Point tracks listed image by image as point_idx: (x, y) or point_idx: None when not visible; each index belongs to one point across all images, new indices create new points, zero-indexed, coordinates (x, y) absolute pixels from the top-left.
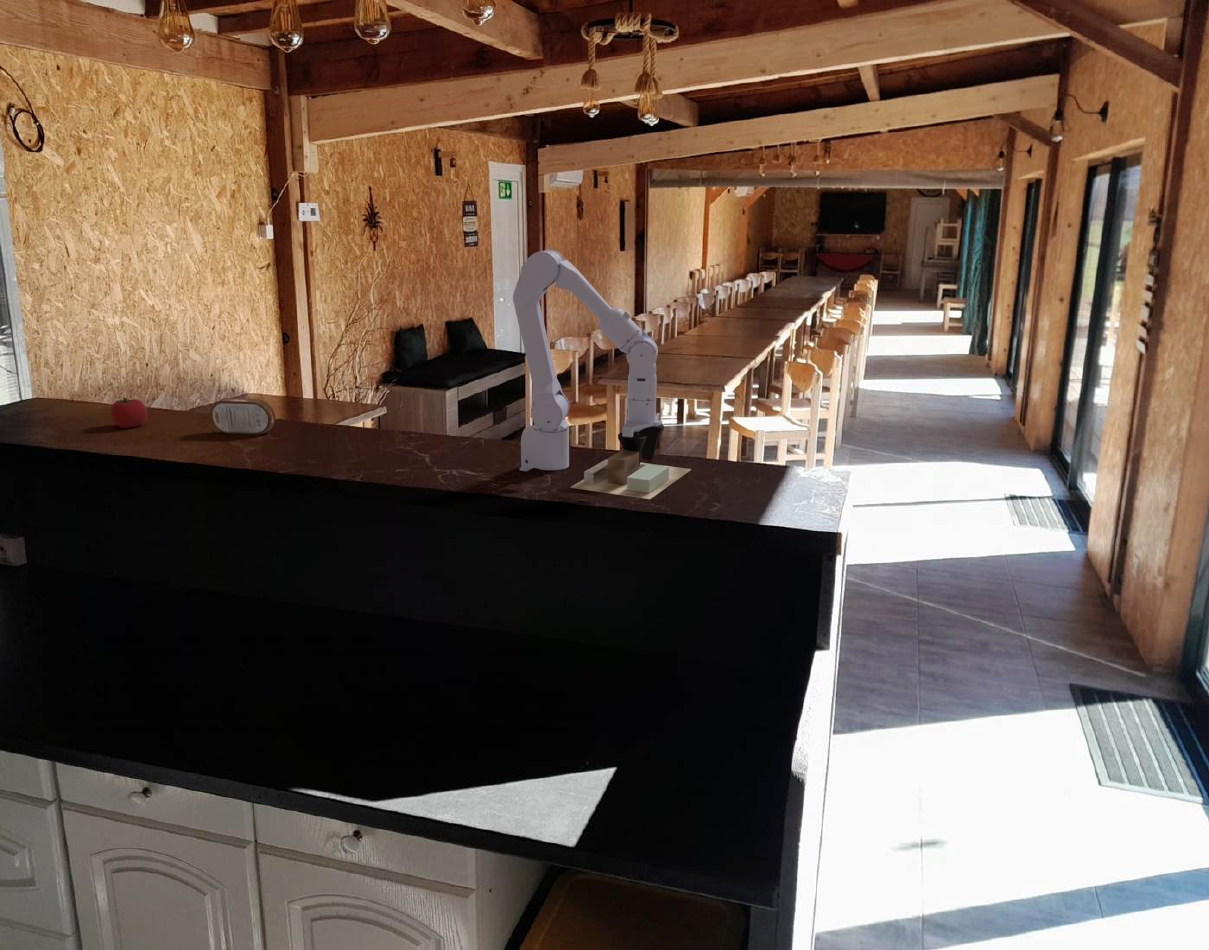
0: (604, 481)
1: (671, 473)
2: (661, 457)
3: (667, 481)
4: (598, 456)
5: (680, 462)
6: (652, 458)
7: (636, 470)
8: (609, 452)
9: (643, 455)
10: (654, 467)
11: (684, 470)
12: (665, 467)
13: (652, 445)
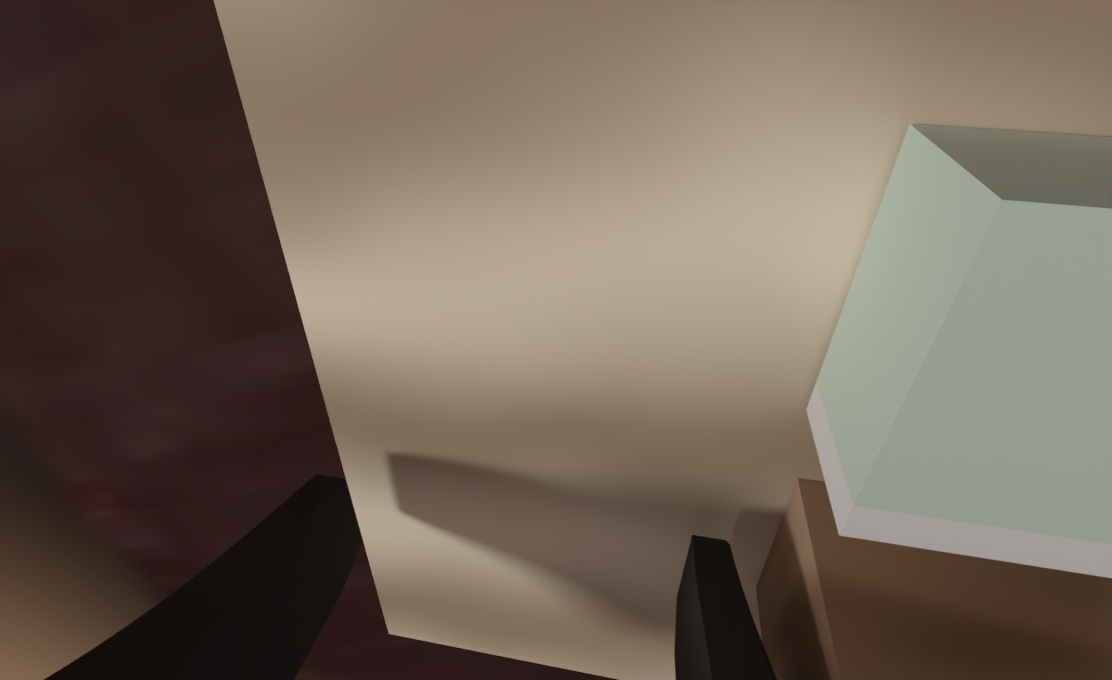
0: None
1: (555, 185)
2: (47, 409)
3: (1016, 114)
4: (329, 676)
5: (8, 240)
6: (328, 488)
7: (891, 559)
8: None
9: (342, 570)
10: (1052, 435)
11: (327, 51)
12: (1051, 264)
13: (237, 629)
